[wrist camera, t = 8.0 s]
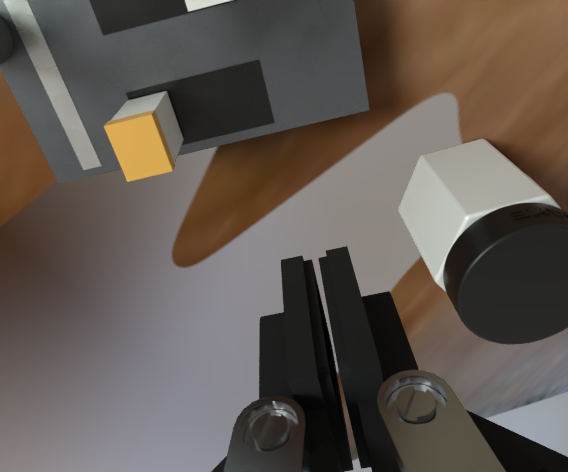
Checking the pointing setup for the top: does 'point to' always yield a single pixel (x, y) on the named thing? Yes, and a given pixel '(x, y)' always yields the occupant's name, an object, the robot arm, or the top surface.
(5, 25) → the post
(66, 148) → the breaker panel
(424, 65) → the top surface
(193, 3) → the paddle
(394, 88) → the top surface
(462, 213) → the jar
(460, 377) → the top surface
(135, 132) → the paddle on
